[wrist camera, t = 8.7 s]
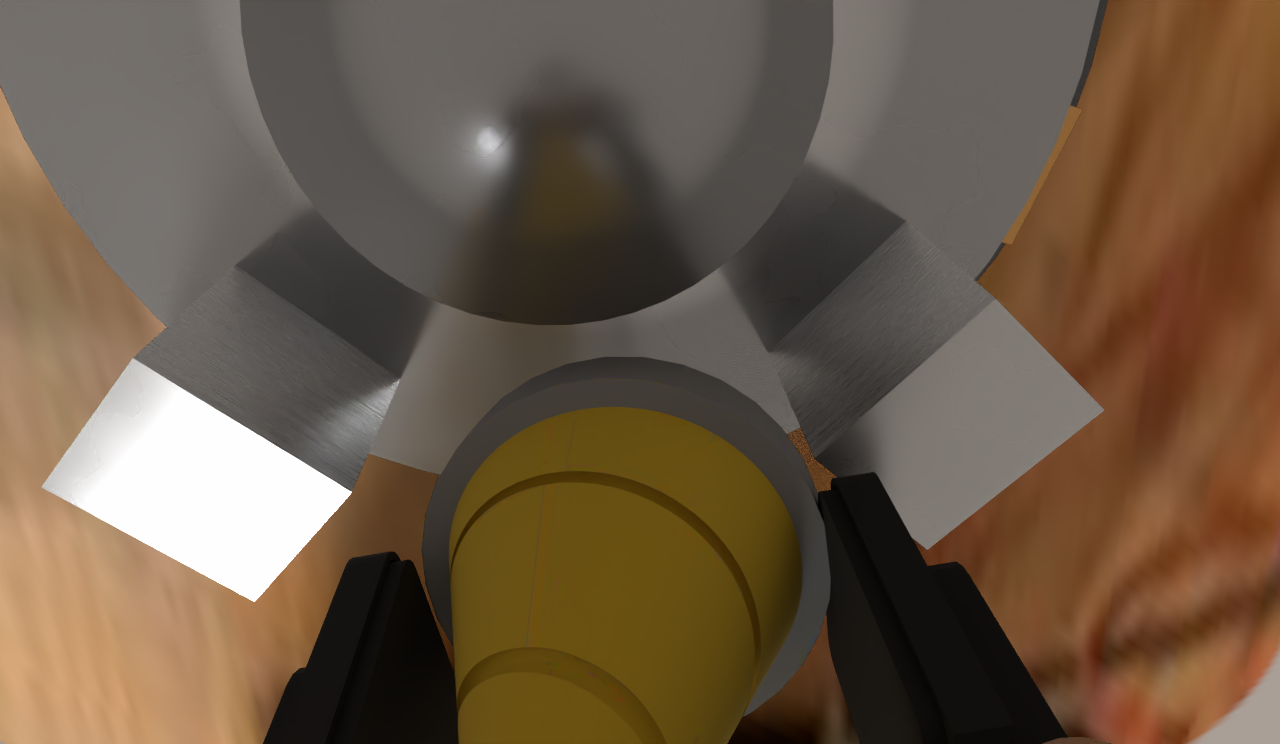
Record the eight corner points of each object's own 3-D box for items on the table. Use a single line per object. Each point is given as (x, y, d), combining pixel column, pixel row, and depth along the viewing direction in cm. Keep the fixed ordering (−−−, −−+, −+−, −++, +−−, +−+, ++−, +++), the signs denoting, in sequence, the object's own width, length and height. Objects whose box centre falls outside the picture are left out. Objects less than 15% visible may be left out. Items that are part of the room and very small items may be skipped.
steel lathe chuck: (987, 422, 16) (1113, 575, 12) (195, 480, 16) (64, 656, 12) (1181, -762, 9) (1621, -1289, 5) (-232, -713, 9) (-892, -1242, 5)
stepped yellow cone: (672, 644, 15) (583, 1492, 6) (439, 473, 15) (-67, 1111, 5) (872, 442, 14) (1180, 1160, 4) (621, 240, 13) (350, 567, 4)
